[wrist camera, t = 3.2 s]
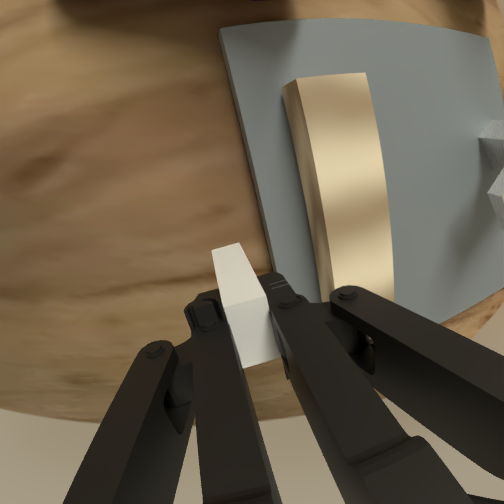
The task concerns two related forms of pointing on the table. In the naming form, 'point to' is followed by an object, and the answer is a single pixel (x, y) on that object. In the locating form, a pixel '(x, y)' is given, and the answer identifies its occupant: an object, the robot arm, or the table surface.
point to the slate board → (382, 148)
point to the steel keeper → (495, 164)
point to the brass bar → (342, 181)
